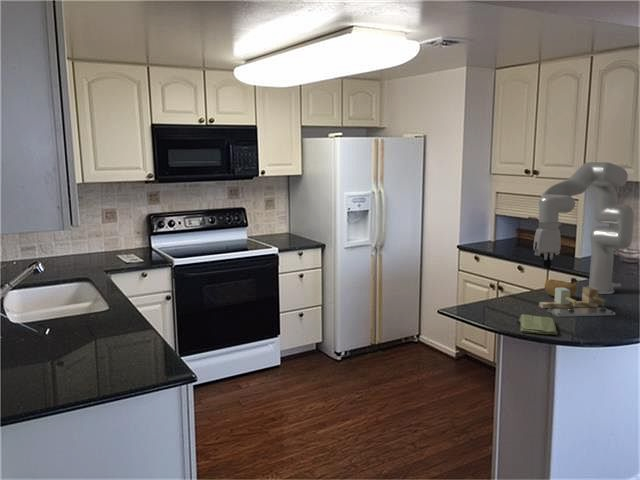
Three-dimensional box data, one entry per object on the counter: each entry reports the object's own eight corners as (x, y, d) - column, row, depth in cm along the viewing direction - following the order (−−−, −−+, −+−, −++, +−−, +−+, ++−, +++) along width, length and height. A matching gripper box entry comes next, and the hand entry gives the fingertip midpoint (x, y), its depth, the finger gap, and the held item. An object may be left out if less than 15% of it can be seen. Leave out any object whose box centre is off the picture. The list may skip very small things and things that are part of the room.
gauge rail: (592, 304, 234) (593, 286, 232) (610, 312, 221) (611, 294, 220) (537, 306, 231) (539, 288, 230) (552, 314, 219) (554, 295, 218)
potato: (572, 302, 237) (574, 285, 236) (540, 297, 246) (541, 280, 245) (579, 298, 244) (580, 281, 243) (547, 293, 253) (548, 276, 252)
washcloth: (519, 334, 197) (520, 325, 196) (518, 320, 213) (519, 312, 213) (558, 338, 192) (558, 329, 192) (554, 323, 209) (554, 315, 208)
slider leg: (563, 300, 232) (564, 287, 231) (579, 308, 220) (580, 294, 219) (554, 301, 232) (555, 287, 231) (570, 309, 219) (571, 295, 219)
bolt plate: (603, 309, 226) (603, 305, 225) (615, 315, 218) (615, 310, 218) (547, 311, 224) (547, 306, 223) (557, 317, 216) (557, 312, 215)
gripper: (560, 223, 228) (558, 265, 231) (527, 225, 227) (525, 267, 230) (570, 226, 221) (567, 269, 224) (535, 228, 219) (533, 271, 223)
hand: (546, 268), depth 227 cm, fingers closed
